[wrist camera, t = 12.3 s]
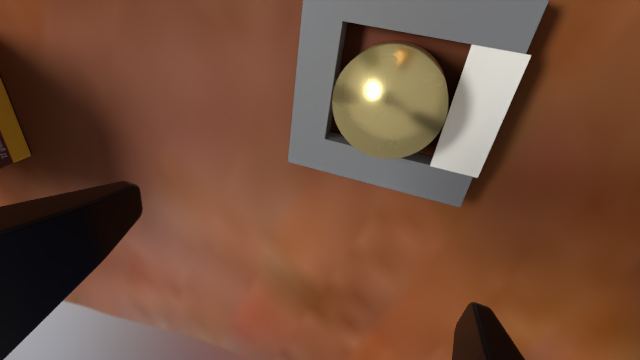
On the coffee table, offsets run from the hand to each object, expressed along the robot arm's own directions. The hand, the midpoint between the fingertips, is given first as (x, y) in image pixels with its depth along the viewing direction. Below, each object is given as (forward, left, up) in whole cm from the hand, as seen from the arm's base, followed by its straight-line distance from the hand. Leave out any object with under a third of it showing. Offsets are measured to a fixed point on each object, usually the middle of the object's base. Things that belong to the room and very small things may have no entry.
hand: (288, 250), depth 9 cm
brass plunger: (-1, -1, -11) cm, 11 cm away
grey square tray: (-1, -1, -12) cm, 12 cm away
